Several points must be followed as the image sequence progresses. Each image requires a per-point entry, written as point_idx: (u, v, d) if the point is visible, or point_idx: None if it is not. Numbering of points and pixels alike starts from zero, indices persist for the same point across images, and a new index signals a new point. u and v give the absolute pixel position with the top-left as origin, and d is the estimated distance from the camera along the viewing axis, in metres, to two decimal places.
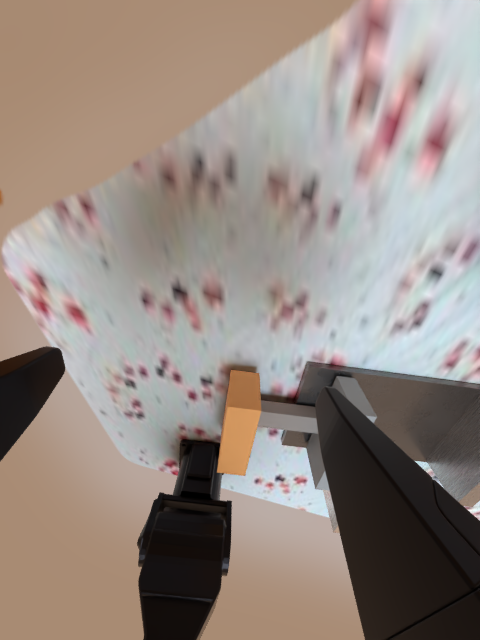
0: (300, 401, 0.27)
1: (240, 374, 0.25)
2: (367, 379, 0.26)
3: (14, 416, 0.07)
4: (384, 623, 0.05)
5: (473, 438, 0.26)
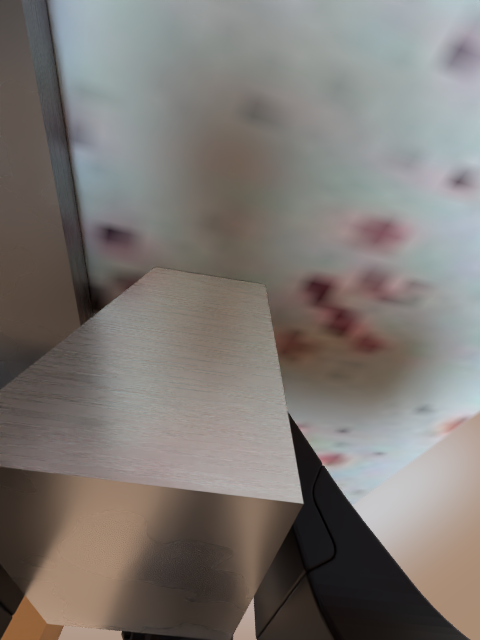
0: None
1: None
2: None
3: None
4: (264, 611, 0.05)
5: None
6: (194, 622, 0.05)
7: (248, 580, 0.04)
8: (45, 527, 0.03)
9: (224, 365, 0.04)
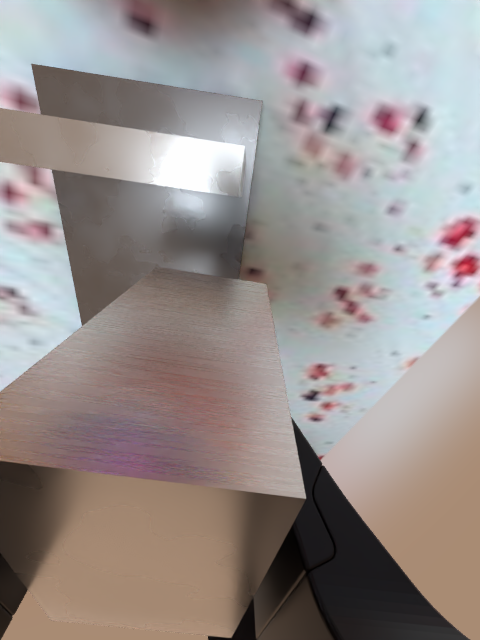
0: None
1: None
2: None
3: None
4: (264, 611, 0.05)
5: None
6: (196, 618, 0.05)
7: (250, 576, 0.04)
8: (50, 522, 0.03)
9: (226, 363, 0.04)
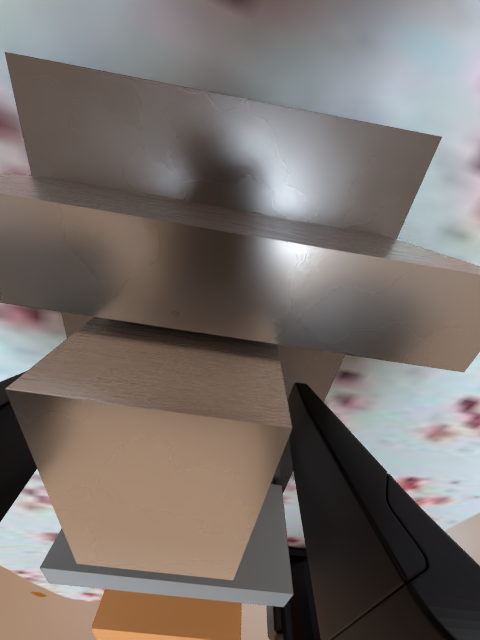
0: None
1: None
2: None
3: None
4: (335, 618, 0.05)
5: None
6: (203, 558, 0.06)
7: (250, 508, 0.05)
8: (91, 456, 0.04)
9: (229, 337, 0.05)
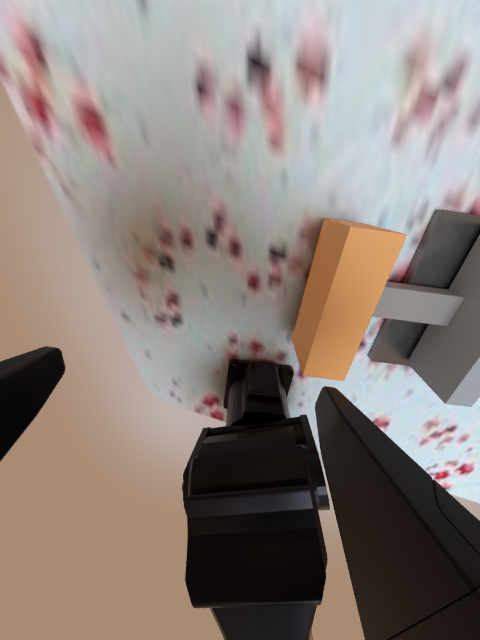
0: (415, 280, 0.19)
1: (340, 220, 0.16)
2: None
3: (14, 416, 0.07)
4: (384, 623, 0.05)
5: None
6: None
7: None
8: None
9: None
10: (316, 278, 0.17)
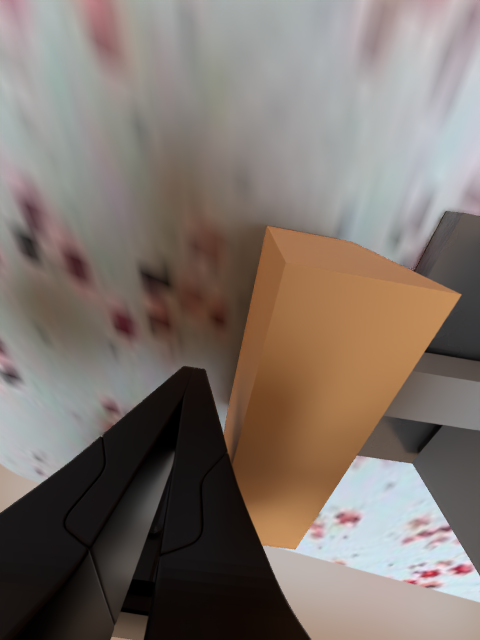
0: None
1: (297, 233, 0.08)
2: None
3: (177, 437, 0.07)
4: None
5: None
6: None
7: None
8: None
9: None
10: (245, 348, 0.08)
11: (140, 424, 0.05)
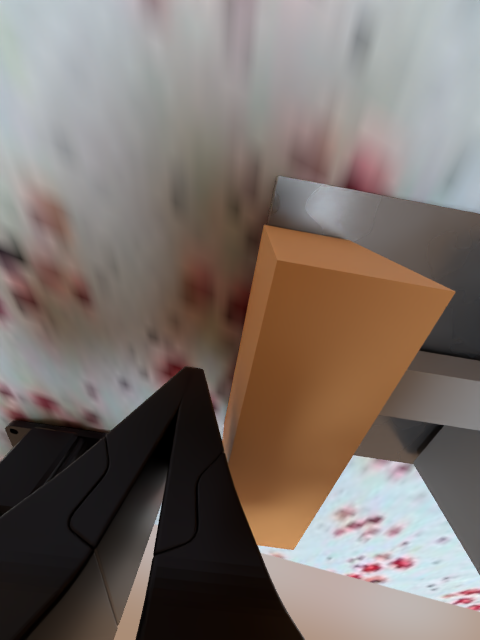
0: None
1: (294, 231, 0.08)
2: (458, 235, 0.08)
3: None
4: None
5: None
6: None
7: None
8: None
9: None
10: (243, 347, 0.08)
11: (143, 424, 0.05)
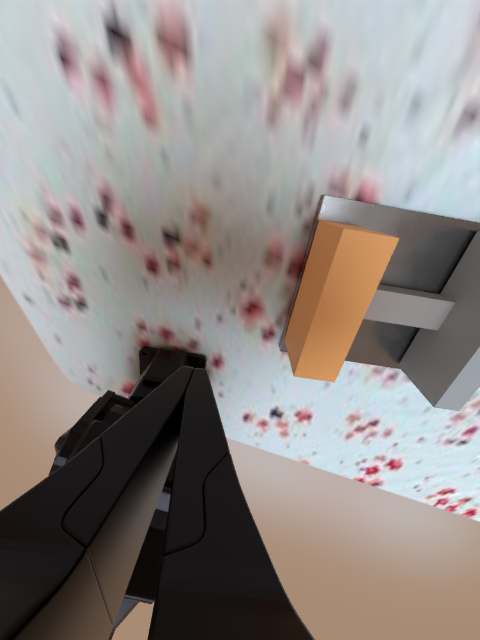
0: None
1: (335, 222, 0.16)
2: (412, 223, 0.17)
3: (175, 437, 0.07)
4: None
5: None
6: None
7: None
8: None
9: None
10: (309, 279, 0.17)
11: (138, 424, 0.05)
